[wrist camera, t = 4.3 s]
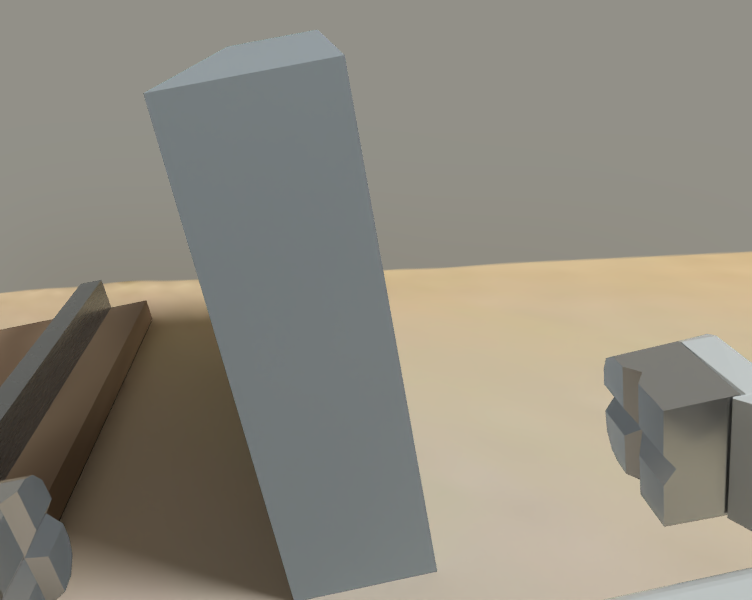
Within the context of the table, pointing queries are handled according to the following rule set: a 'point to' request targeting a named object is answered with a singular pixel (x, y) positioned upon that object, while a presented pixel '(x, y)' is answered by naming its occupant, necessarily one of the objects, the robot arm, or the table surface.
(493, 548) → the table surface
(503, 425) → the table surface
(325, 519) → the tall grey rectangular block
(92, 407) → the track board
